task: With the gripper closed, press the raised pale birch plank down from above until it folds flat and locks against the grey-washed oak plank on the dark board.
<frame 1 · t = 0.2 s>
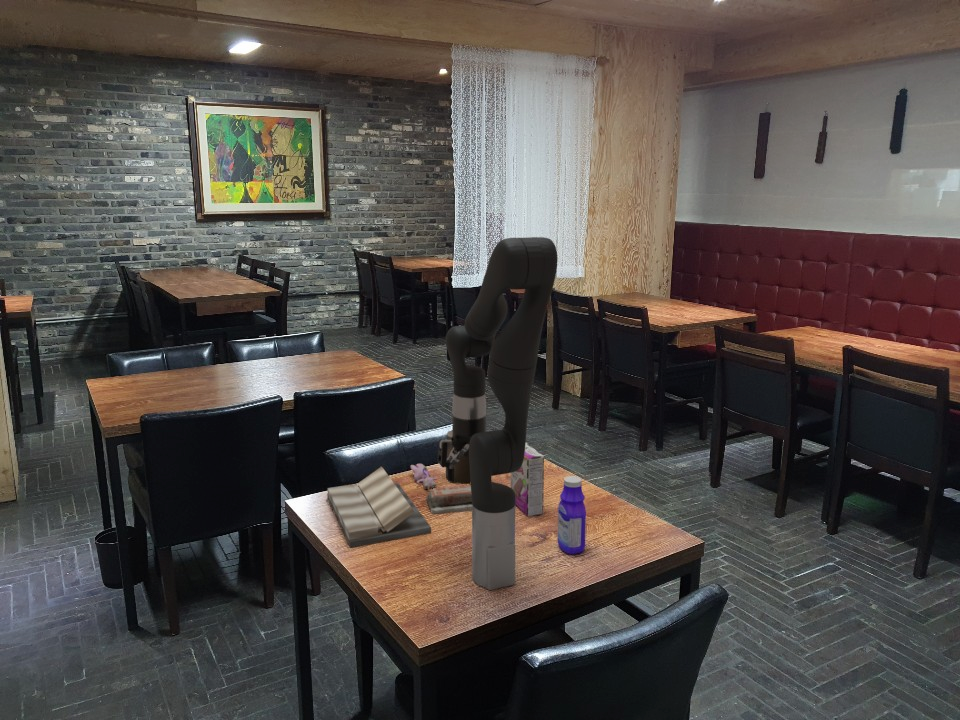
hand: (468, 479, 160), 17 cm above the table, tool pointing down, fingers open, 8 cm apart
candy bar box: (526, 508, 186), on the table
floor section: (376, 514, 181), on the table
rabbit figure: (423, 483, 202), on the table
pillar candle: (463, 477, 206), on the table
loose plank: (383, 497, 181), point 4 cm above the table, hinge at 30.0°
bottle: (570, 549, 164), on the table
packaged product: (461, 505, 188), on the table
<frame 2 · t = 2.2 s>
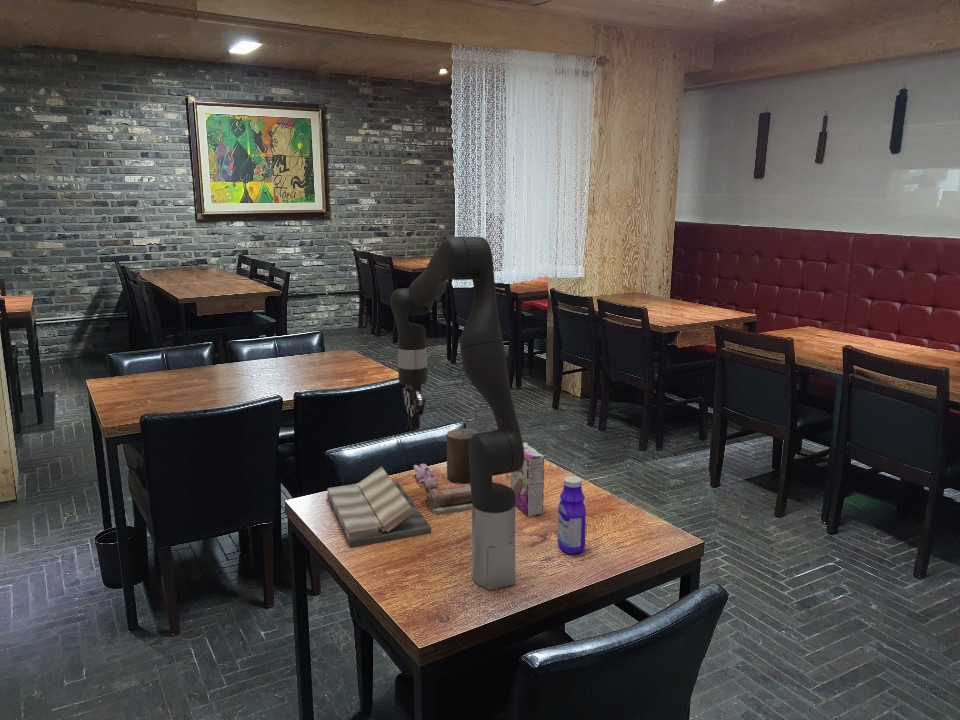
hand: (414, 427, 185), 21 cm above the table, tool pointing down, fingers closed
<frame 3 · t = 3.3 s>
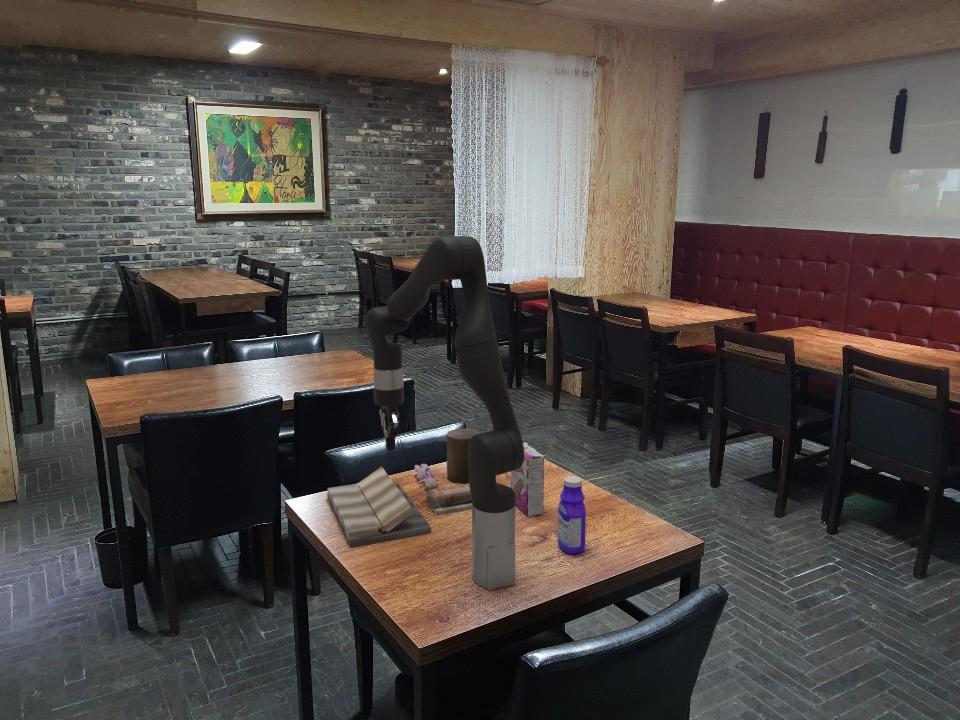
hand: (390, 449, 179), 17 cm above the table, tool pointing down, fingers closed
nothing on the table moved.
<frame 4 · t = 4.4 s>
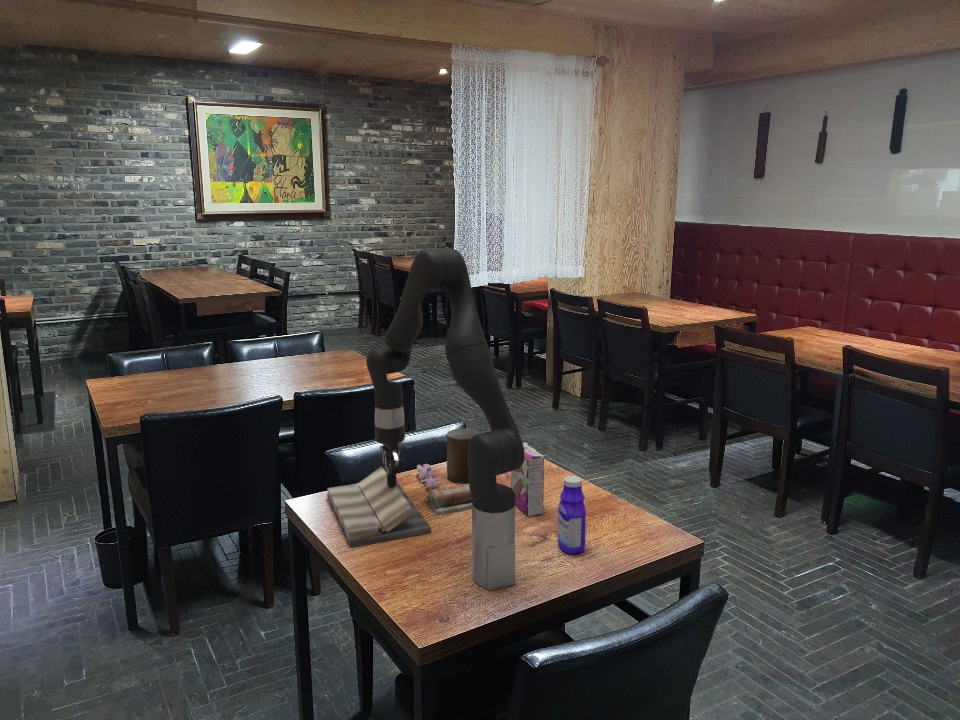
hand: (391, 485, 181), 7 cm above the table, tool pointing down, fingers closed
loose plank: (383, 497, 181), point 4 cm above the table, hinge at 29.9°, touching gripper
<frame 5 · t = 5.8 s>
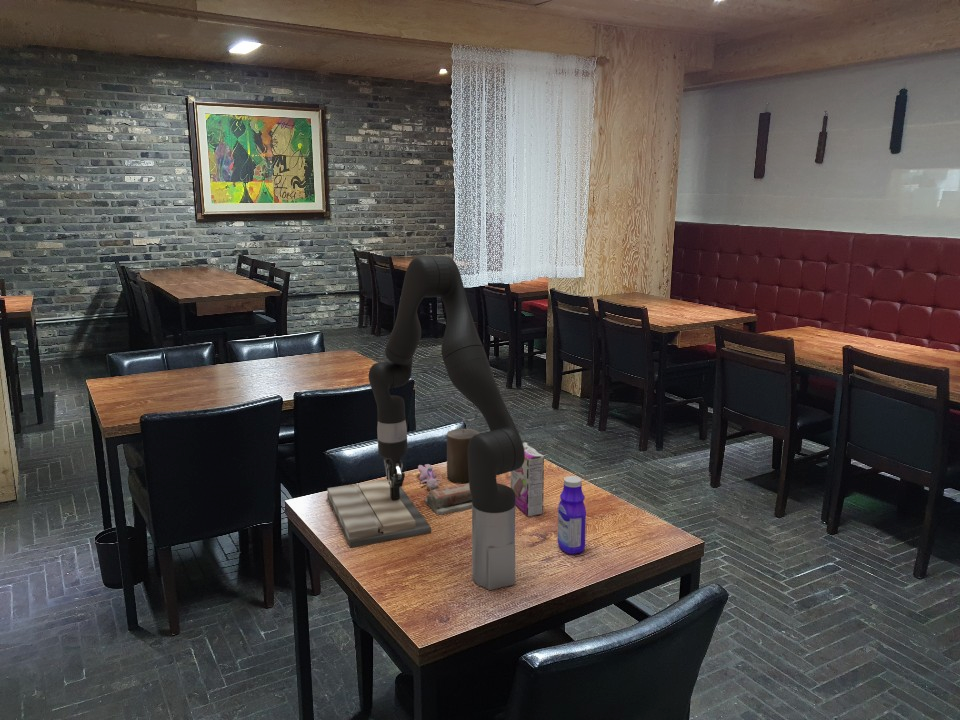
hand: (395, 498, 183), 4 cm above the table, tool pointing down, fingers closed
loose plank: (383, 504, 182), point 2 cm above the table, hinge at 0.0°, touching floor section, gripper
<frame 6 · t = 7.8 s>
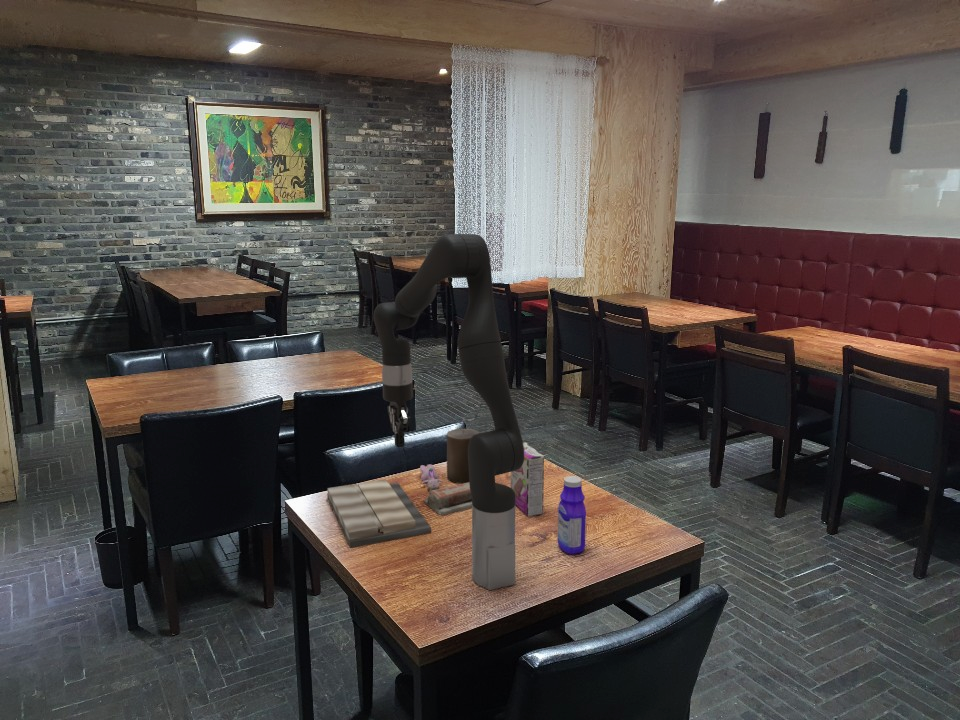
hand: (399, 446, 179), 18 cm above the table, tool pointing down, fingers closed
loose plank: (383, 504, 182), point 2 cm above the table, hinge at 0.0°, touching floor section
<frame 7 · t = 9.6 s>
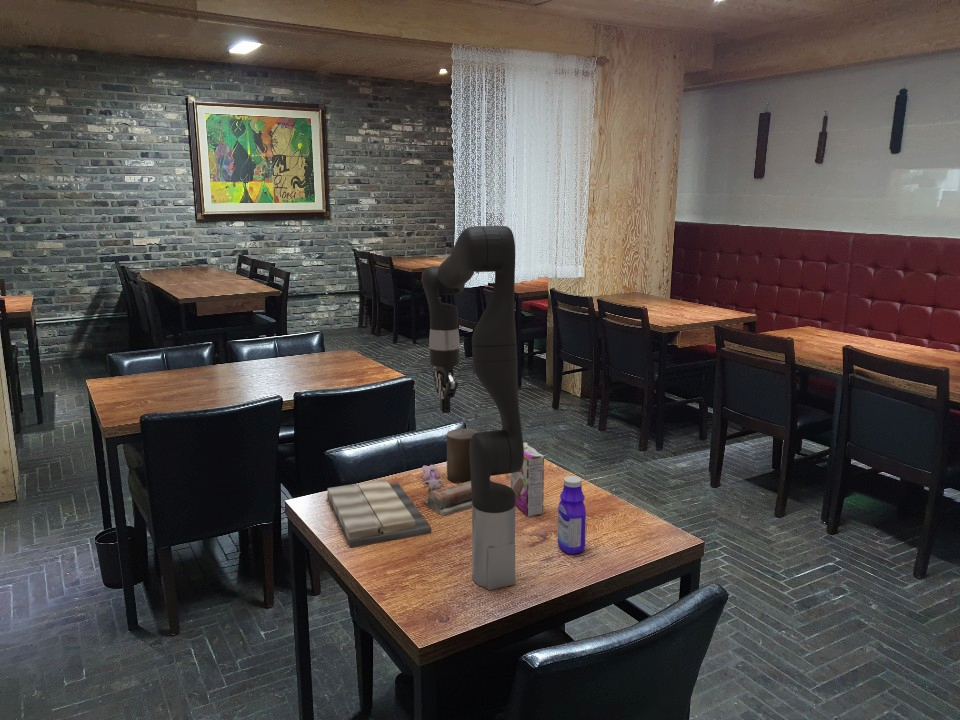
hand: (445, 412, 178), 27 cm above the table, tool pointing down, fingers closed
at the end: loose plank at +0° (first picture: +30°) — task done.
